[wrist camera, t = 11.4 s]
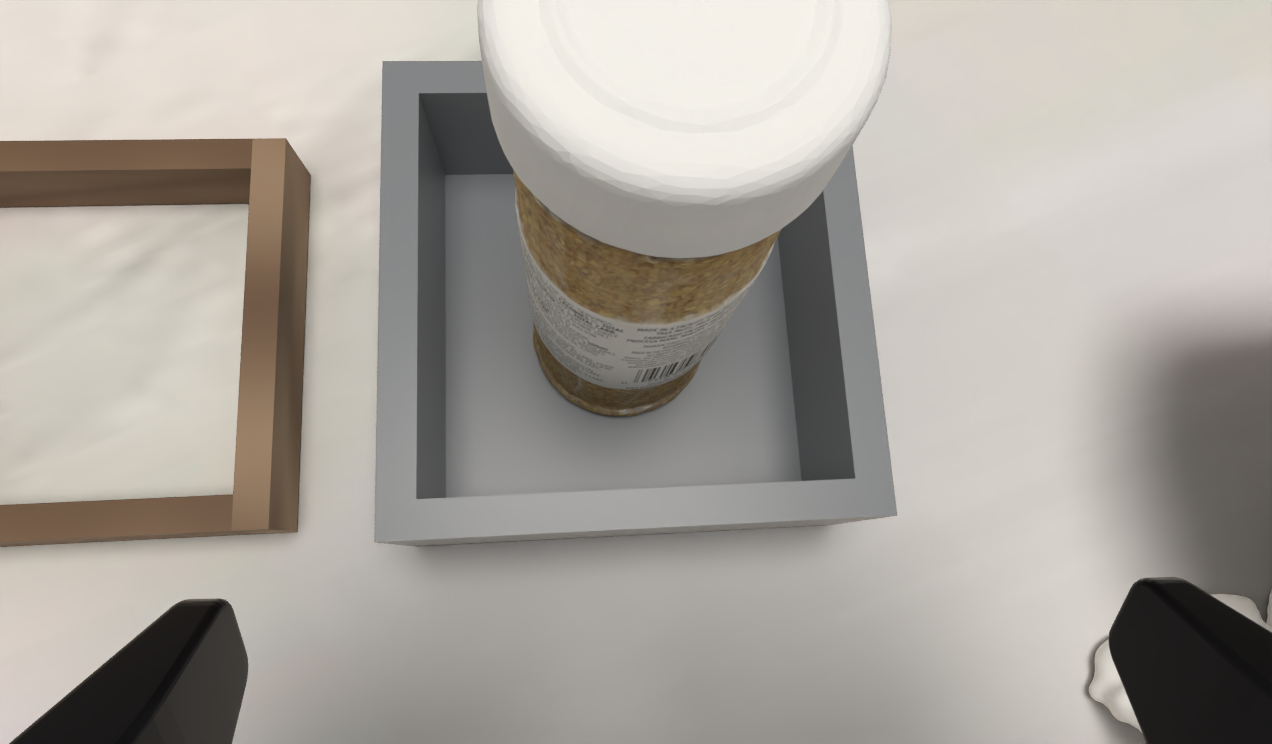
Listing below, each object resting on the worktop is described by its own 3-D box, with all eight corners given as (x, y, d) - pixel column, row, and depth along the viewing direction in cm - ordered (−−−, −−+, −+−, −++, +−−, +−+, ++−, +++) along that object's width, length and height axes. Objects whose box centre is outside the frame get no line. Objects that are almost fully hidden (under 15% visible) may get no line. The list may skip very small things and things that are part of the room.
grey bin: (830, 525, 21) (897, 515, 17) (416, 546, 21) (374, 542, 16) (792, 152, 24) (842, 60, 19) (418, 156, 23) (382, 60, 18)
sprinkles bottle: (672, 236, 22) (820, -223, 9) (726, 394, 22) (973, 130, 8) (509, 280, 22) (421, -148, 9) (558, 444, 21) (542, 243, 8)
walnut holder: (297, 531, 20) (268, 529, 18) (-120, 552, 20) (-196, 551, 18) (310, 174, 23) (286, 138, 21) (-66, 180, 22) (-128, 142, 20)
